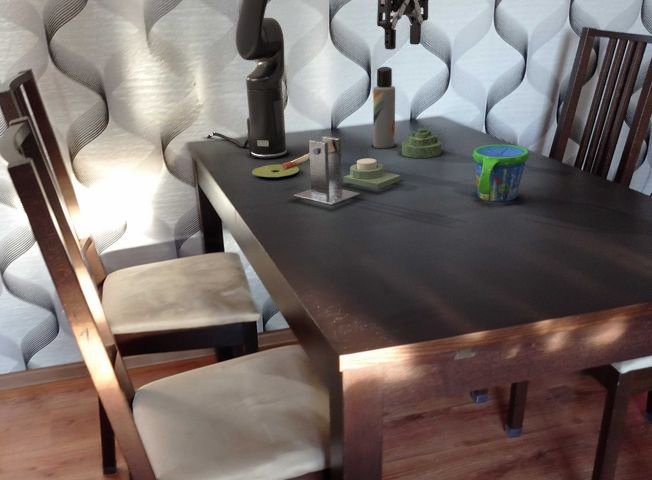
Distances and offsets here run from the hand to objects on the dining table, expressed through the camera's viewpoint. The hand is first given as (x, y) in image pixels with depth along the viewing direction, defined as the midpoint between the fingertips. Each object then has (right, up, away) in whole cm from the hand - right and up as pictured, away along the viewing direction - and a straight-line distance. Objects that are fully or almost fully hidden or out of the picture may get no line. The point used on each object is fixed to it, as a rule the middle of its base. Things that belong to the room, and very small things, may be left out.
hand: (402, 46), depth 146 cm
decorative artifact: (+10, -12, +35) cm, 39 cm away
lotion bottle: (+1, -8, +44) cm, 45 cm away
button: (-6, -23, +11) cm, 26 cm away
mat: (-27, -22, +21) cm, 41 cm away
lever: (-19, -23, +3) cm, 30 cm away
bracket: (-16, -31, +4) cm, 35 cm away
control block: (-5, -26, +12) cm, 29 cm away
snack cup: (+19, -33, -2) cm, 38 cm away
